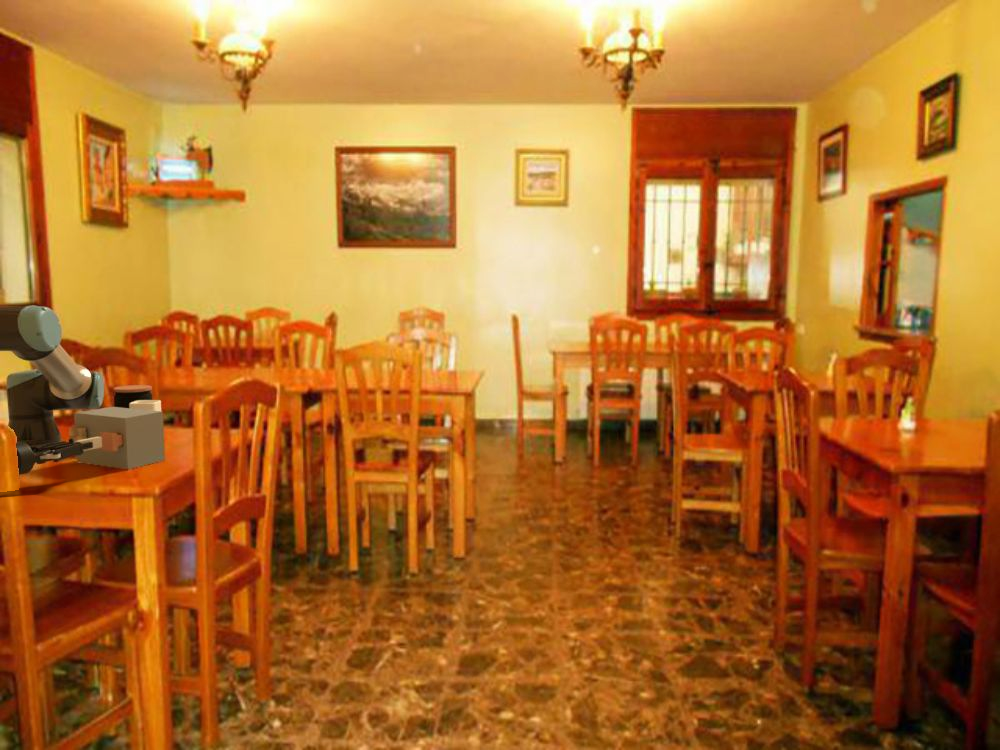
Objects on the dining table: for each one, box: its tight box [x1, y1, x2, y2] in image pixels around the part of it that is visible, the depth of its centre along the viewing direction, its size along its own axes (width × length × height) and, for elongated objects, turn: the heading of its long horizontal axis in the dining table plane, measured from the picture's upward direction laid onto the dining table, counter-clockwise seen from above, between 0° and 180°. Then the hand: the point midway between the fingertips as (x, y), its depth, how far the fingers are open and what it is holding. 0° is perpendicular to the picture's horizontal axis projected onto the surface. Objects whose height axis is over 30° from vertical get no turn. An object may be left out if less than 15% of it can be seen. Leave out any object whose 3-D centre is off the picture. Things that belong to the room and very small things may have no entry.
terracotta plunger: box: [100, 432, 123, 451], centre depth 198 cm, size 5×12×5 cm, turn 156°
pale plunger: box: [68, 426, 87, 443], centre depth 205 cm, size 5×12×5 cm, turn 156°
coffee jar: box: [113, 384, 153, 408], centre depth 226 cm, size 11×11×18 cm
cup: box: [129, 399, 162, 411], centre depth 217 cm, size 7×7×15 cm
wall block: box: [73, 406, 166, 470], centre depth 204 cm, size 20×12×14 cm, turn 66°
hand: (100, 441), depth 190 cm, fingers closed
